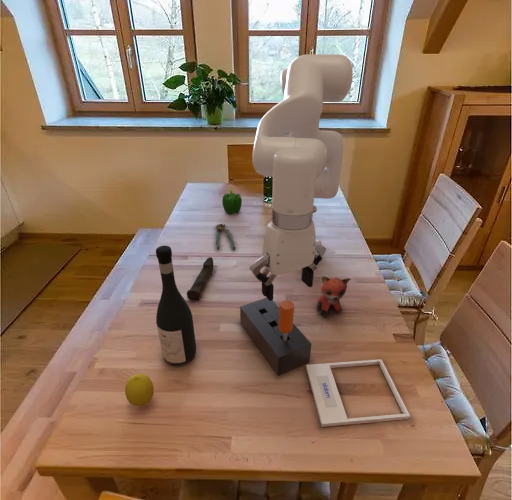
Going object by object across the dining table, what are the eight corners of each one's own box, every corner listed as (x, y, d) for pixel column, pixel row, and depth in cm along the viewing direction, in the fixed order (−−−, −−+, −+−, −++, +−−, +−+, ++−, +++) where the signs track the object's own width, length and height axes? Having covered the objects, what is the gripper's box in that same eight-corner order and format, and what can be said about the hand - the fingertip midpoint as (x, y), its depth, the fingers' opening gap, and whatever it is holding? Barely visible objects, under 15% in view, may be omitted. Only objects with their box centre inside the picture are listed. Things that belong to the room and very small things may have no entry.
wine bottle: (181, 372, 81) (163, 264, 66) (156, 358, 85) (133, 252, 69) (203, 350, 87) (191, 245, 71) (179, 337, 91) (163, 235, 75)
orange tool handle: (286, 349, 87) (289, 298, 79) (293, 358, 85) (297, 306, 76) (274, 353, 86) (276, 302, 78) (281, 363, 84) (284, 311, 75)
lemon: (132, 392, 77) (125, 367, 73) (158, 390, 77) (152, 365, 73) (126, 415, 72) (118, 390, 68) (154, 413, 72) (147, 388, 68)
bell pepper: (241, 216, 151) (240, 194, 146) (222, 216, 151) (221, 194, 146) (242, 208, 158) (241, 187, 153) (224, 208, 158) (222, 187, 153)
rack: (268, 313, 98) (269, 296, 95) (309, 361, 84) (311, 343, 81) (240, 323, 95) (239, 306, 92) (277, 376, 80) (278, 357, 77)
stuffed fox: (338, 294, 106) (343, 260, 99) (347, 319, 96) (353, 284, 90) (312, 294, 106) (316, 260, 99) (319, 320, 96) (324, 285, 90)
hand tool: (199, 302, 102) (198, 290, 100) (187, 300, 103) (185, 288, 101) (220, 267, 118) (220, 255, 116) (209, 265, 119) (208, 254, 116)
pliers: (235, 250, 127) (235, 247, 127) (217, 251, 127) (216, 248, 126) (230, 225, 144) (230, 222, 143) (214, 226, 143) (214, 223, 142)
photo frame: (306, 364, 82) (381, 358, 83) (305, 367, 82) (380, 361, 84) (322, 423, 69) (410, 415, 71) (321, 426, 70) (409, 418, 71)
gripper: (317, 201, 72) (310, 270, 81) (241, 218, 65) (243, 292, 74) (341, 215, 67) (331, 288, 75) (261, 235, 60) (260, 313, 68)
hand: (287, 290), depth 75 cm, fingers open, 9 cm apart
